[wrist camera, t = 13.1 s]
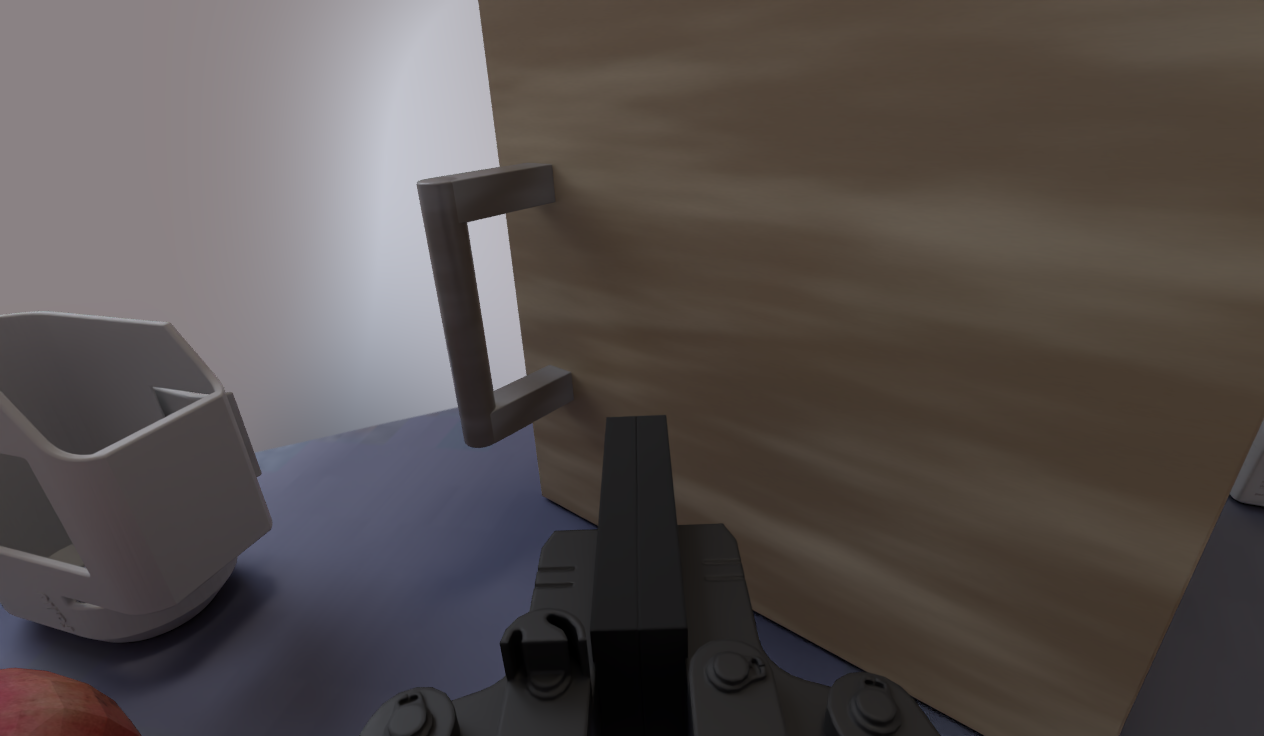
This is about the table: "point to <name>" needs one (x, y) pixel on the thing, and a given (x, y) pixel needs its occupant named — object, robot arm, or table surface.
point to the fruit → (57, 707)
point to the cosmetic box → (1252, 474)
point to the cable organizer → (117, 476)
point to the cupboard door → (892, 309)
